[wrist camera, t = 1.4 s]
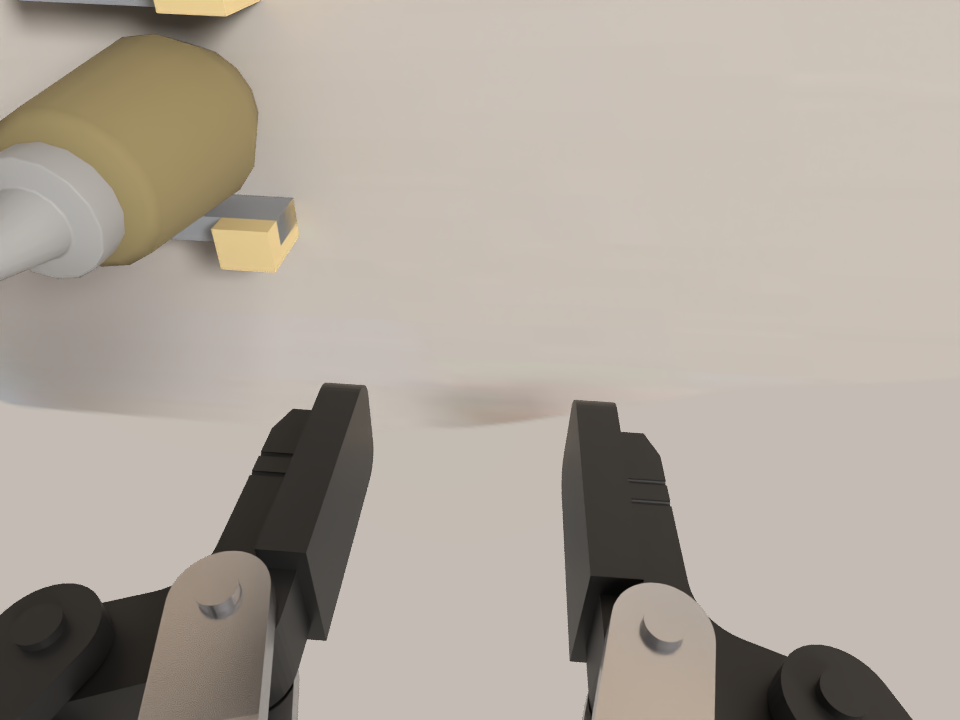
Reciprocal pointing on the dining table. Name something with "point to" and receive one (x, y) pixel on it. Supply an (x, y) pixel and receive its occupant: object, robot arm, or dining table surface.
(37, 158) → the squeeze bottle
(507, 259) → the dining table surface
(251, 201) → the wooden post frame
